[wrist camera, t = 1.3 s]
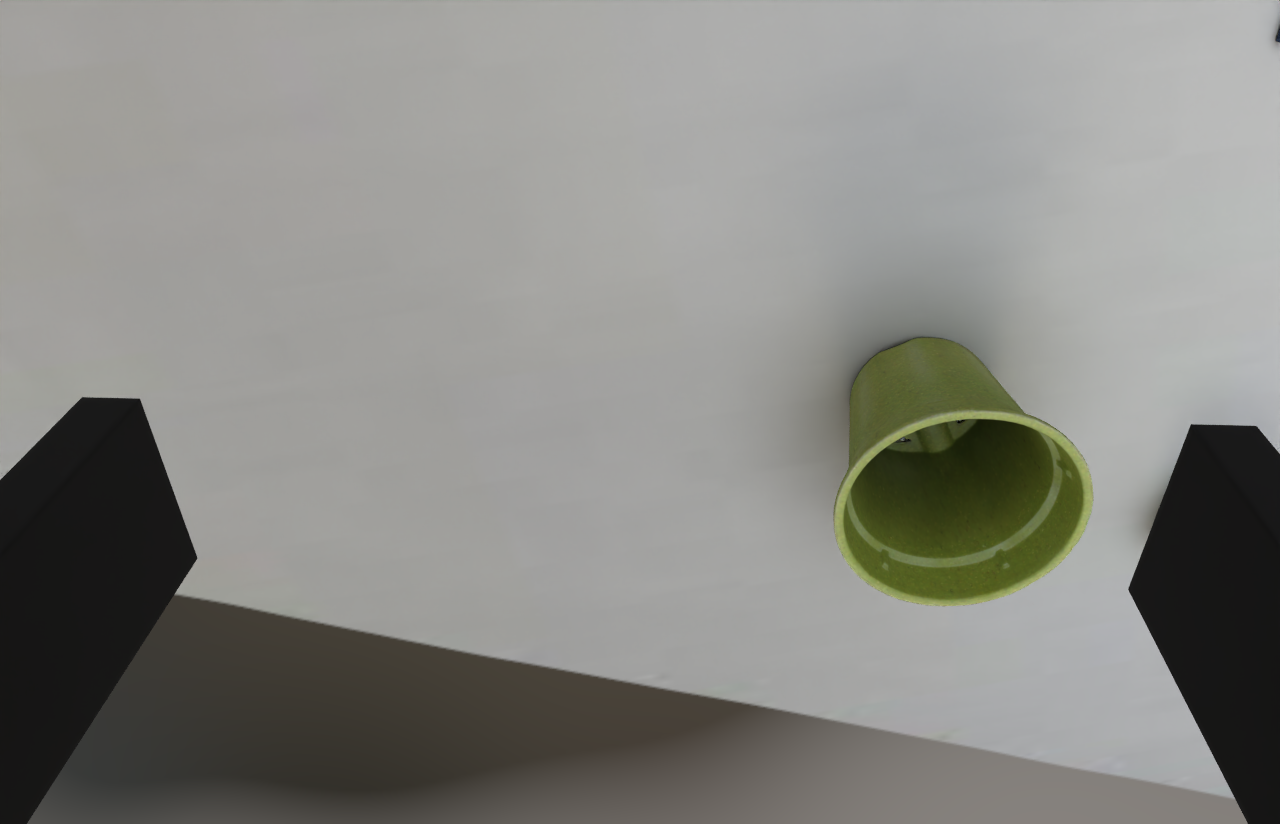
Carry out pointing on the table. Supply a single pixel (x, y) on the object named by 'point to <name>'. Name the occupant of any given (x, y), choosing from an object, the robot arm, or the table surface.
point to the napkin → (1278, 36)
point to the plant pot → (953, 481)
